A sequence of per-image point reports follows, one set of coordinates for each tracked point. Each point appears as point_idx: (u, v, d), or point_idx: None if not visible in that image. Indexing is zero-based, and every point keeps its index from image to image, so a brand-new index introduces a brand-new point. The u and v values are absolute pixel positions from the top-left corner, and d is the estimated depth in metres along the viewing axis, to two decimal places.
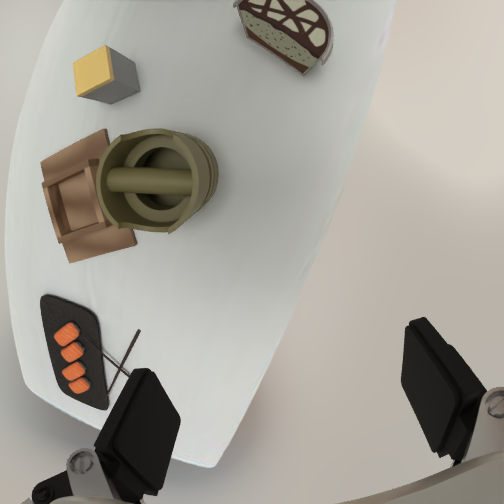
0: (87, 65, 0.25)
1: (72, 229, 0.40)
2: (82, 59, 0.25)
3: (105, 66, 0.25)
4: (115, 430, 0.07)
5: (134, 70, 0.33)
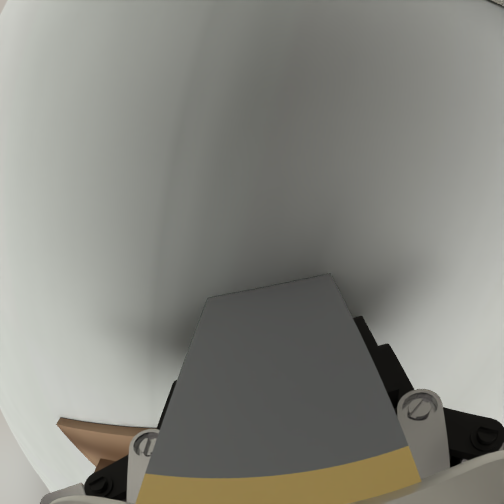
0: None
1: None
2: None
3: None
4: None
5: None
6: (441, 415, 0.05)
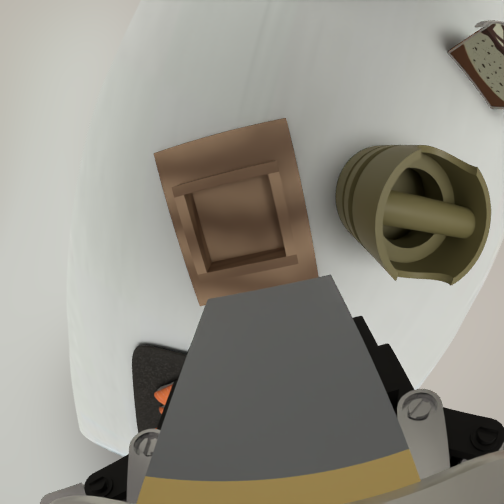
0: None
1: (214, 259, 0.32)
2: None
3: None
4: None
5: None
6: (442, 415, 0.05)
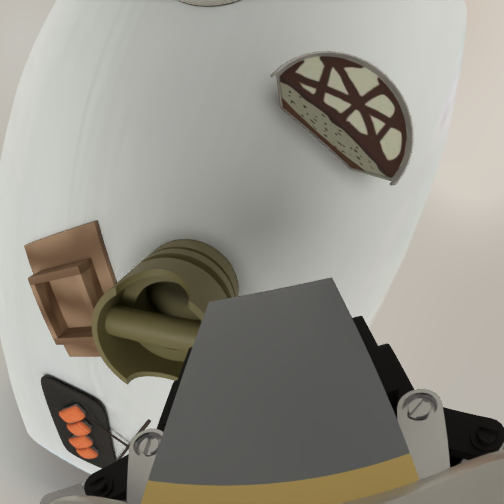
0: None
1: (69, 326, 0.34)
2: None
3: None
4: None
5: None
6: (442, 415, 0.05)
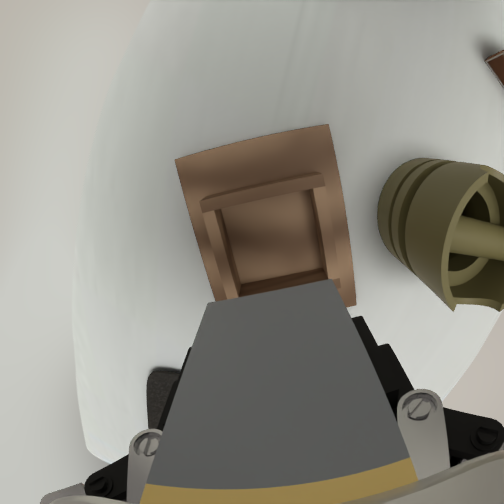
0: None
1: (243, 281, 0.28)
2: None
3: None
4: None
5: None
6: (442, 414, 0.05)
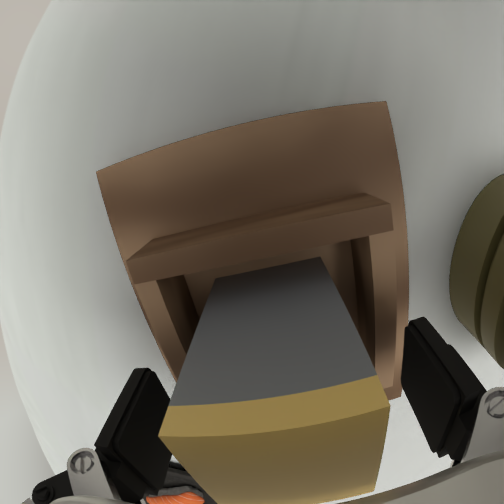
0: (264, 467, 0.06)
1: None
2: (225, 443, 0.05)
3: (363, 473, 0.06)
4: (115, 429, 0.07)
5: None
6: None
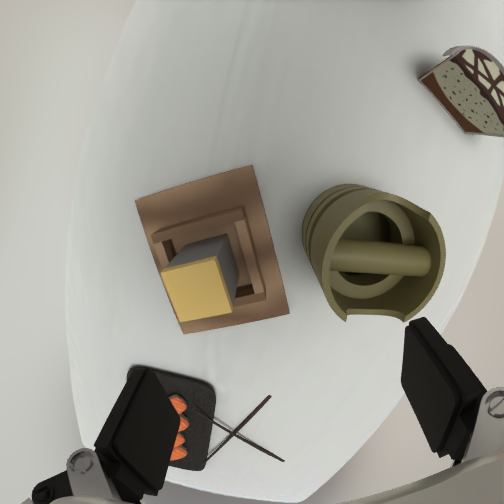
0: (188, 284, 0.25)
1: None
2: (177, 272, 0.24)
3: (220, 294, 0.25)
4: (115, 430, 0.07)
5: (230, 247, 0.32)
6: None
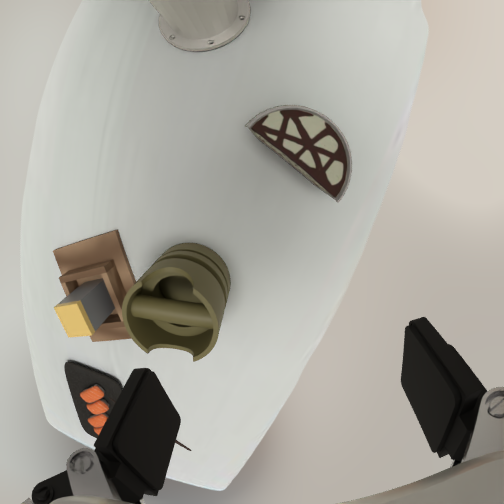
0: (67, 316, 0.34)
1: None
2: (61, 308, 0.33)
3: (83, 323, 0.34)
4: (115, 430, 0.07)
5: None
6: None
